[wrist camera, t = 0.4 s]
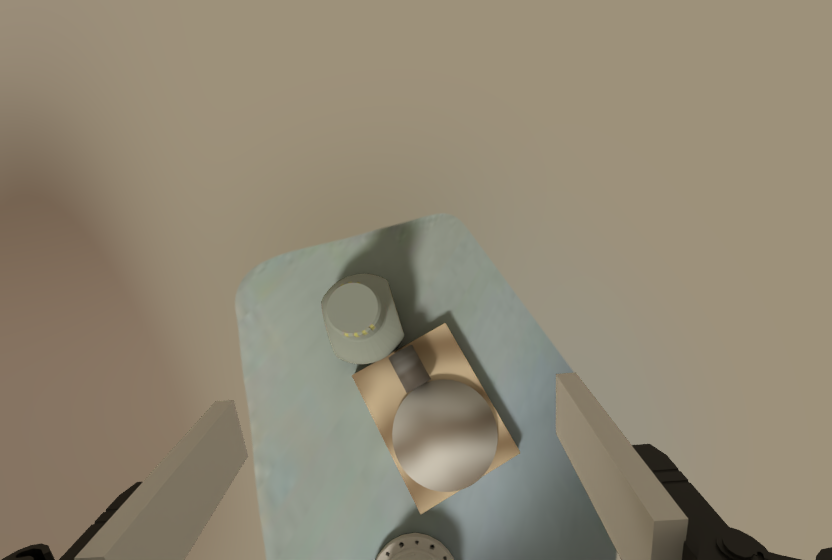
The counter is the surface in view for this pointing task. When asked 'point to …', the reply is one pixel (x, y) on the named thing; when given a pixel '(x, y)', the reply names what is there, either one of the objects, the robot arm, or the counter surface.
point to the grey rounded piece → (362, 319)
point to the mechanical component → (414, 548)
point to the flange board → (434, 417)
